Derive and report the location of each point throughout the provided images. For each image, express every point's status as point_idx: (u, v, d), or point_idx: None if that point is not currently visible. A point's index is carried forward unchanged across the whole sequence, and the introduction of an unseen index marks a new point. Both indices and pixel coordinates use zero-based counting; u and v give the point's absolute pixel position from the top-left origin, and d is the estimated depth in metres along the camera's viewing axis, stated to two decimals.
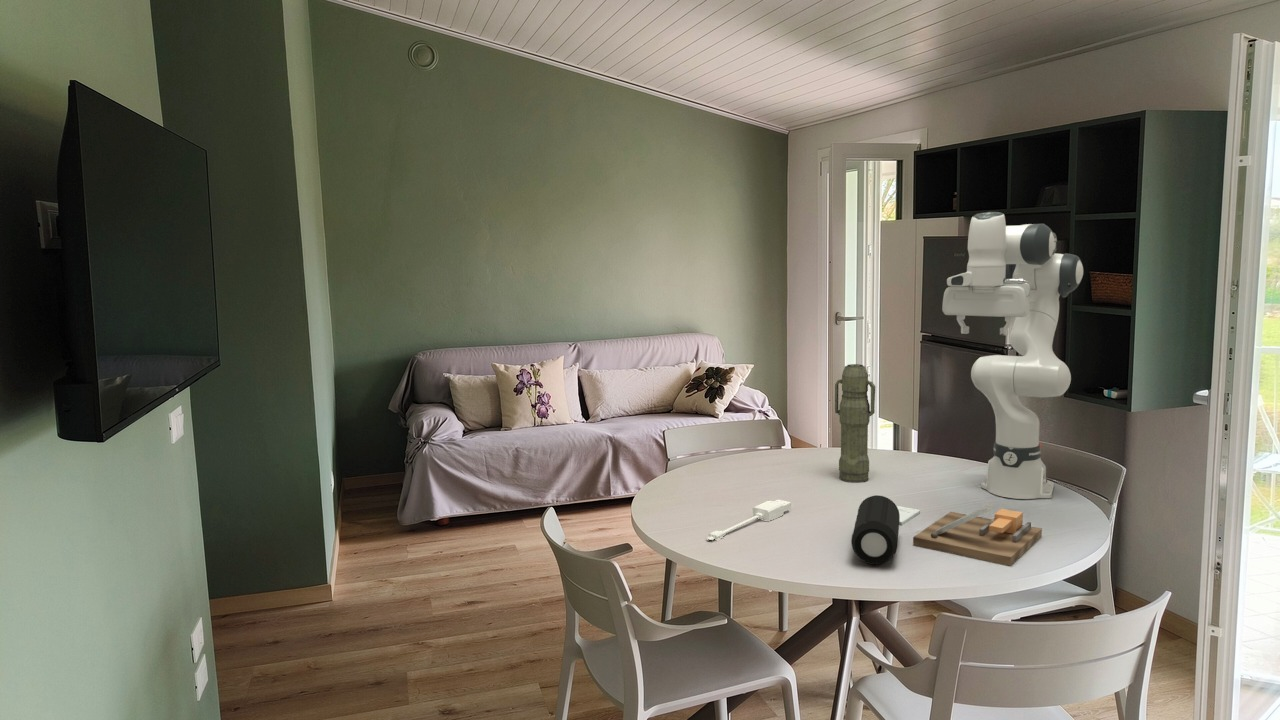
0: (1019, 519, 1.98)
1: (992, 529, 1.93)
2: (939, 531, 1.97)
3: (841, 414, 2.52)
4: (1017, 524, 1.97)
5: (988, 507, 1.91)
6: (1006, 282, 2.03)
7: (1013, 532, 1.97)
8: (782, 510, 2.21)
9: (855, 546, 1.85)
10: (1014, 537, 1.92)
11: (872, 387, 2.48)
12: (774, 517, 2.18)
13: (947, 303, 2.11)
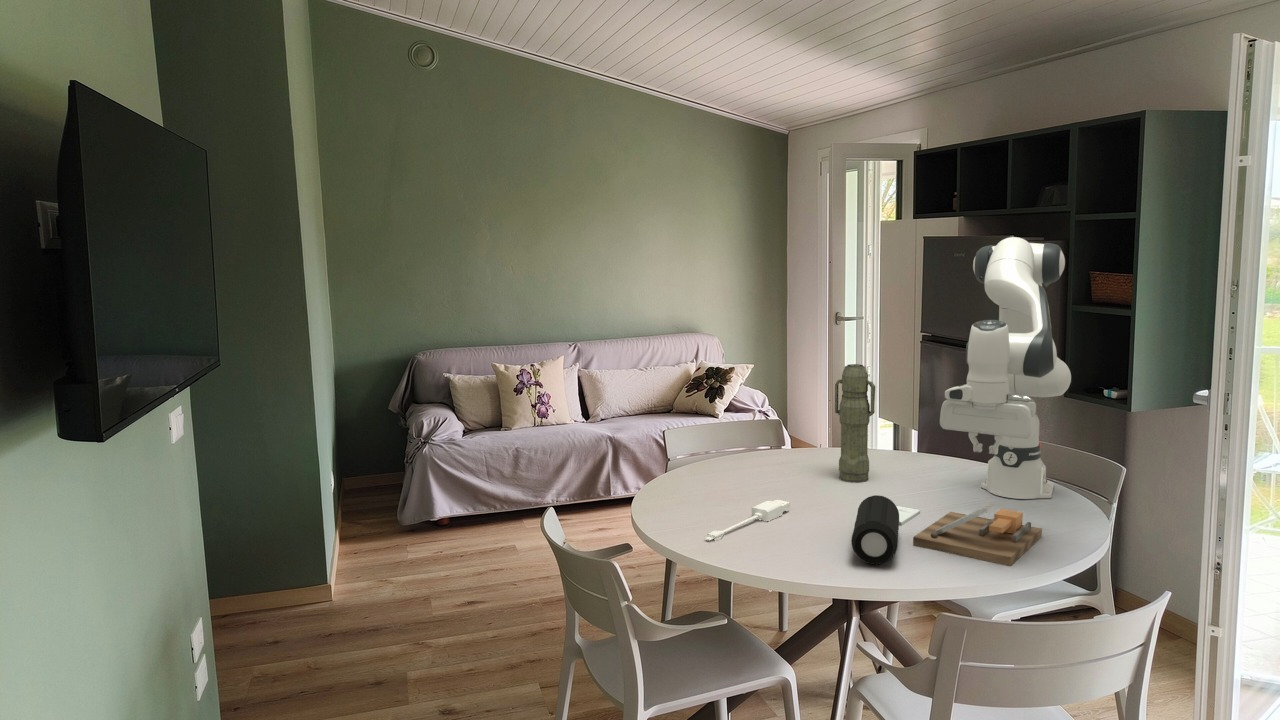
0: (1019, 519, 1.98)
1: (992, 529, 1.93)
2: (939, 531, 1.97)
3: (841, 414, 2.52)
4: (1017, 524, 1.97)
5: (988, 507, 1.91)
6: (1010, 399, 1.85)
7: (1013, 532, 1.97)
8: (781, 510, 2.21)
9: (855, 546, 1.85)
10: (1014, 537, 1.92)
11: (872, 387, 2.48)
12: (773, 517, 2.18)
13: (945, 416, 1.93)
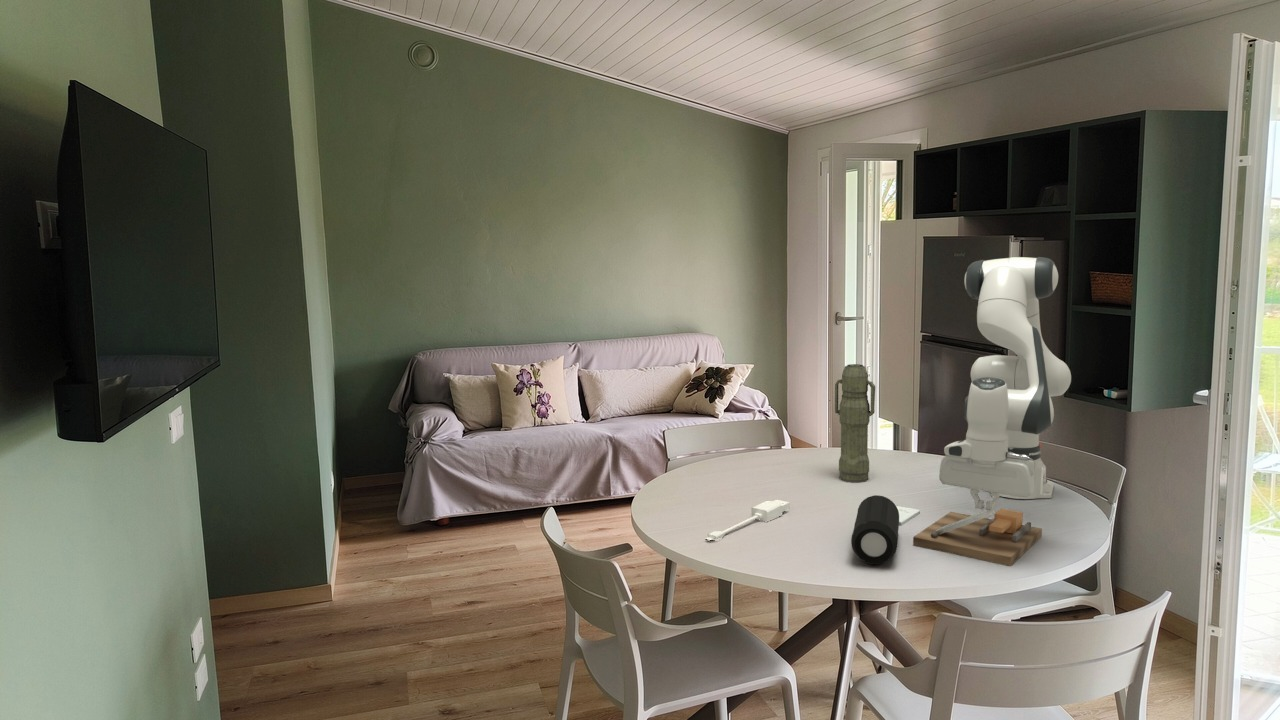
0: (1019, 519, 1.98)
1: (992, 529, 1.93)
2: (939, 531, 1.97)
3: (841, 414, 2.52)
4: (1017, 524, 1.97)
5: (991, 511, 1.90)
6: (1008, 457, 1.86)
7: (1013, 532, 1.97)
8: (781, 510, 2.21)
9: (855, 546, 1.85)
10: (1014, 537, 1.92)
11: (872, 387, 2.48)
12: (773, 517, 2.18)
13: (945, 472, 1.95)
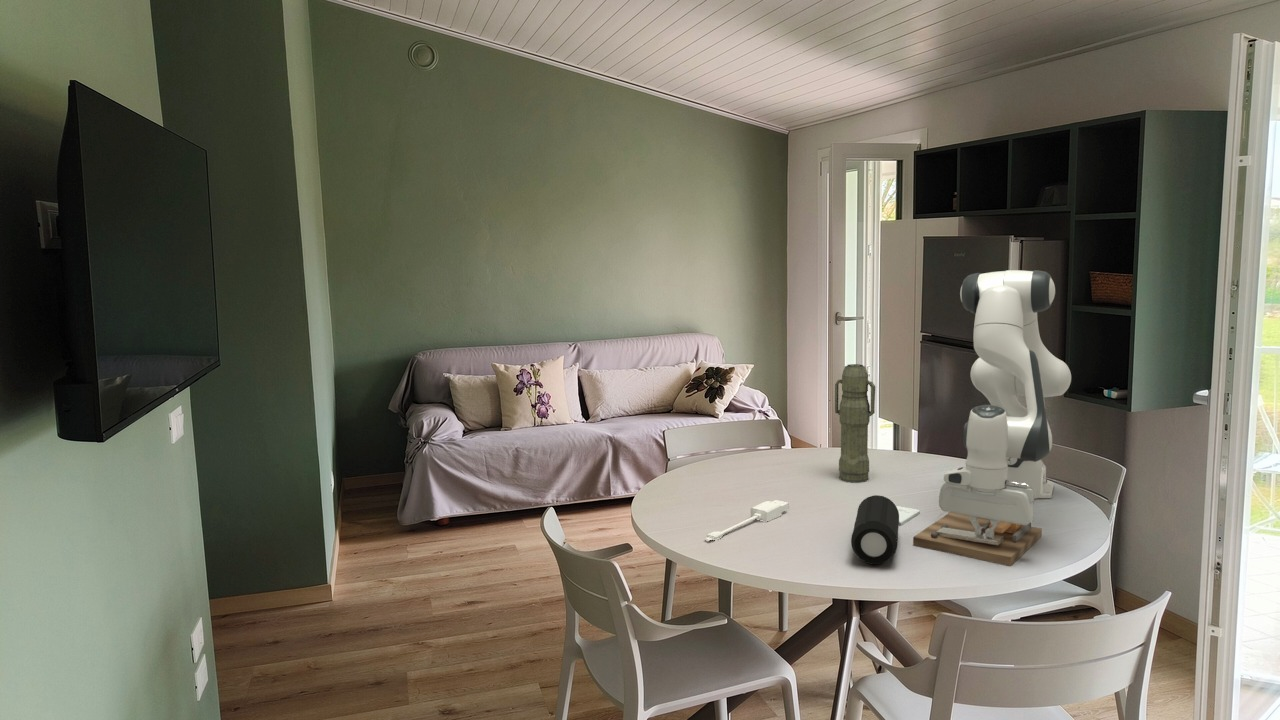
0: None
1: None
2: (941, 534, 1.97)
3: (841, 414, 2.52)
4: (1017, 524, 1.97)
5: (1000, 540, 1.90)
6: (1008, 485, 1.87)
7: (1013, 532, 1.97)
8: (780, 510, 2.21)
9: (855, 546, 1.85)
10: (1014, 537, 1.92)
11: (872, 387, 2.48)
12: (772, 518, 2.18)
13: (944, 499, 1.95)
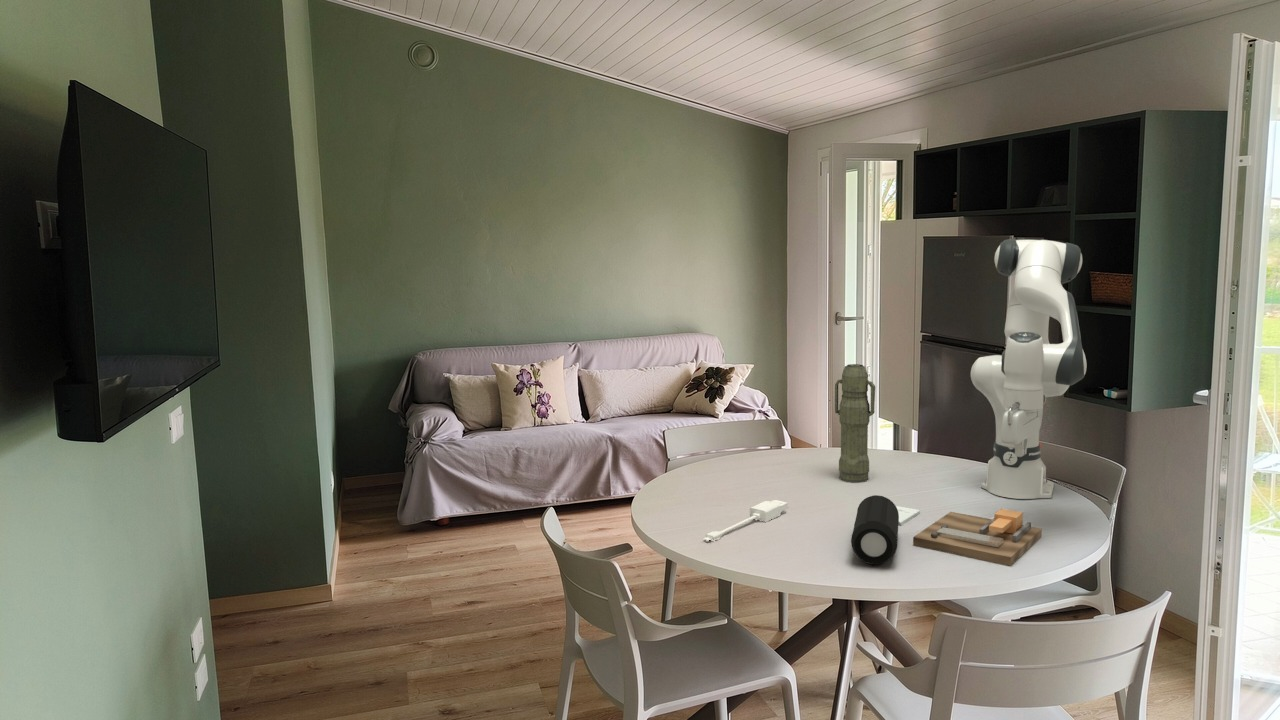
0: (1019, 519, 1.98)
1: (992, 529, 1.93)
2: (941, 534, 1.97)
3: (841, 414, 2.52)
4: (1017, 524, 1.97)
5: (1000, 542, 1.90)
6: None
7: (1013, 532, 1.97)
8: (779, 510, 2.20)
9: (855, 546, 1.85)
10: (1014, 537, 1.92)
11: (872, 387, 2.48)
12: (771, 517, 2.18)
13: None
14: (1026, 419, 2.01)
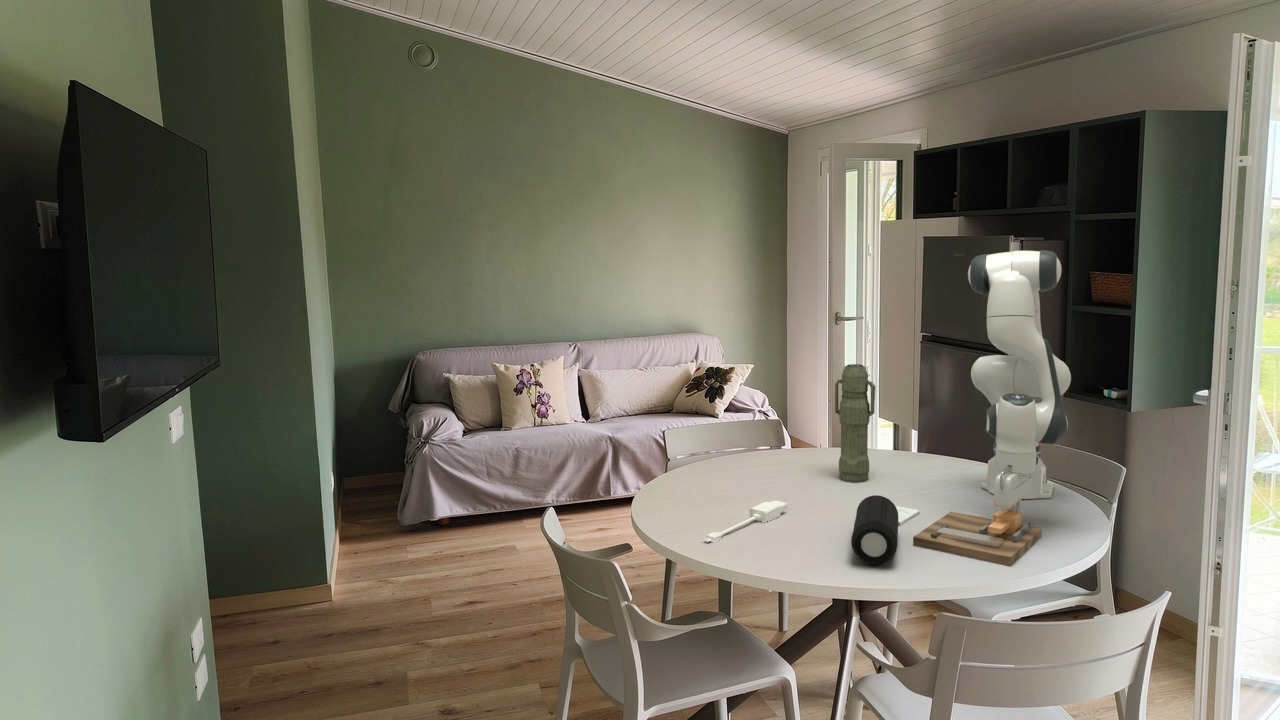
0: (1018, 520, 1.98)
1: (991, 530, 1.93)
2: (941, 534, 1.97)
3: (841, 414, 2.52)
4: (1016, 525, 1.97)
5: (1000, 542, 1.90)
6: None
7: (1012, 533, 1.97)
8: (779, 511, 2.20)
9: (855, 546, 1.85)
10: (1014, 537, 1.92)
11: (872, 387, 2.48)
12: (771, 518, 2.17)
13: None
14: (1018, 482, 1.99)
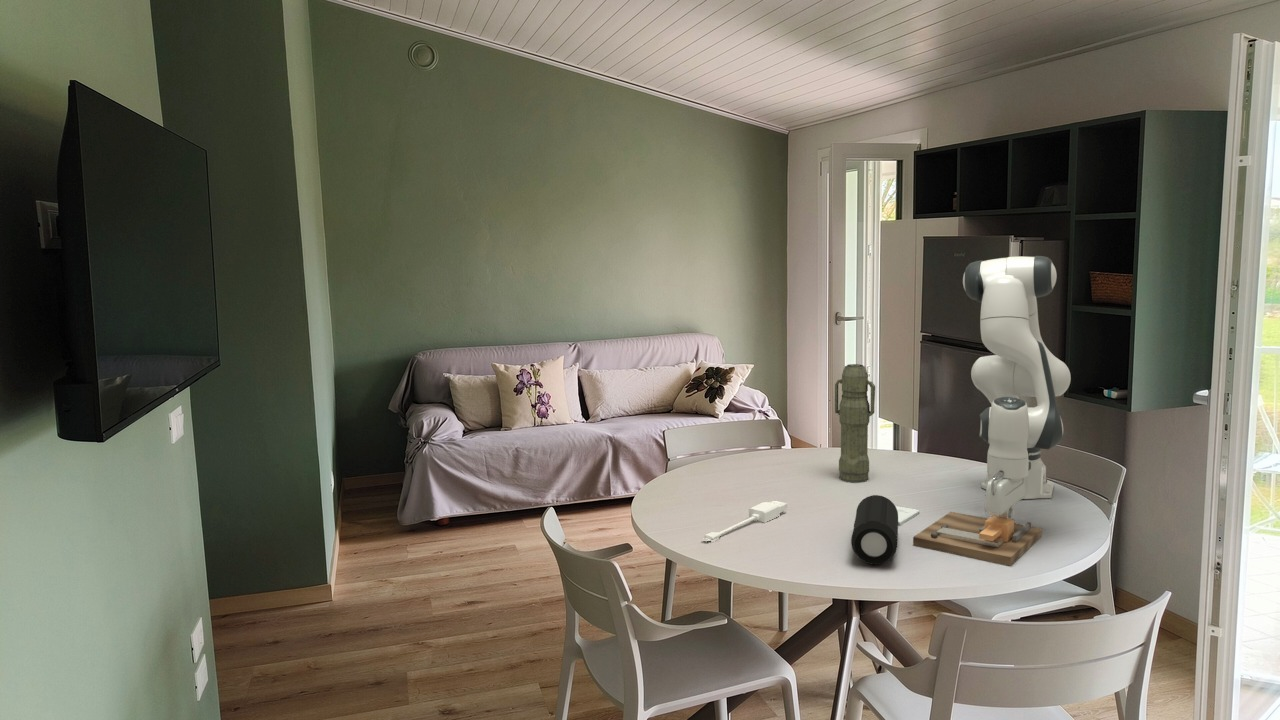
0: (1010, 526, 1.93)
1: (982, 537, 1.88)
2: (941, 534, 1.97)
3: (841, 414, 2.52)
4: (1008, 532, 1.92)
5: (1000, 542, 1.90)
6: None
7: (1004, 540, 1.92)
8: (778, 511, 2.20)
9: (855, 546, 1.85)
10: (1014, 537, 1.92)
11: (872, 387, 2.48)
12: (770, 518, 2.17)
13: None
14: (1011, 487, 1.95)
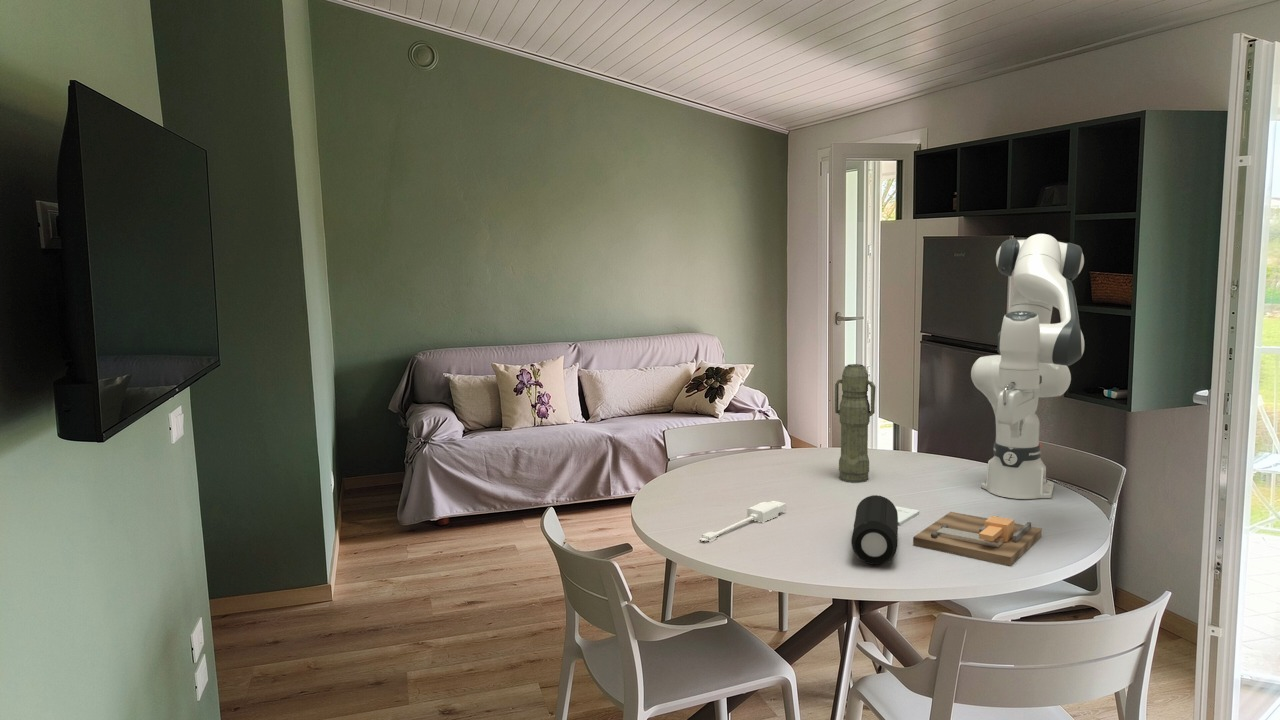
0: (1010, 527, 1.93)
1: (982, 537, 1.88)
2: (941, 534, 1.97)
3: (841, 414, 2.52)
4: (1008, 532, 1.92)
5: (1000, 542, 1.90)
6: None
7: (1004, 540, 1.92)
8: (777, 511, 2.20)
9: (855, 546, 1.85)
10: (1014, 537, 1.92)
11: (872, 387, 2.48)
12: (769, 518, 2.17)
13: None
14: (1022, 399, 1.97)
